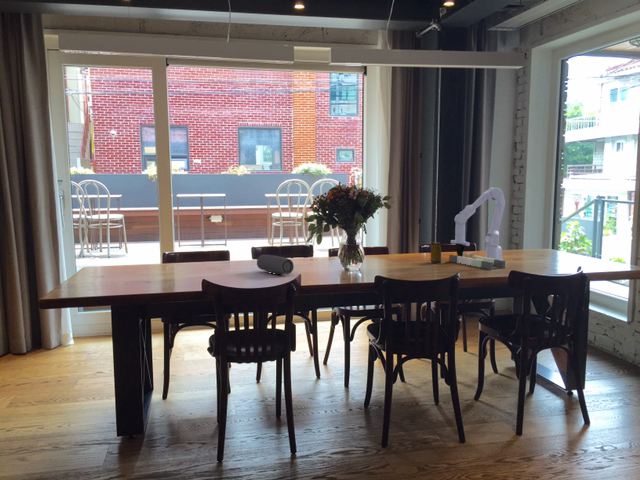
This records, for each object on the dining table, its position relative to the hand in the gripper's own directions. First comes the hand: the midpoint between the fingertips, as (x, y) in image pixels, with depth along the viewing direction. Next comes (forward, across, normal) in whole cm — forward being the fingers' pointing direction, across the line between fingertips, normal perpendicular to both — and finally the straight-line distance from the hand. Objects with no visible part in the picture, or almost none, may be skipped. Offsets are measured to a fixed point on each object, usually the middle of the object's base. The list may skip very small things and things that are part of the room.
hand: (459, 256), depth 327 cm
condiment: (+3, -3, -15) cm, 16 cm away
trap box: (+3, +14, 0) cm, 14 cm away
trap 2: (+3, +27, 0) cm, 28 cm away
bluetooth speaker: (+3, -21, -112) cm, 114 cm away
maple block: (+1, +8, 0) cm, 8 cm away
